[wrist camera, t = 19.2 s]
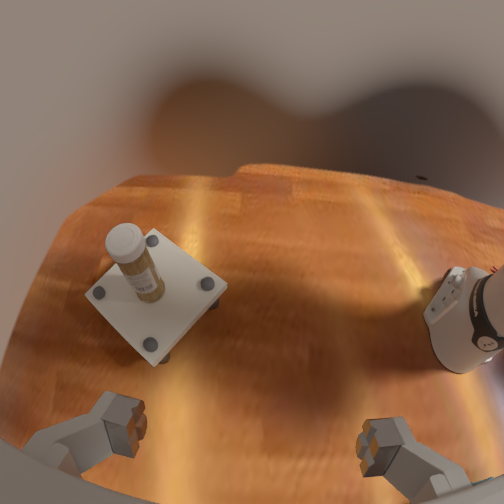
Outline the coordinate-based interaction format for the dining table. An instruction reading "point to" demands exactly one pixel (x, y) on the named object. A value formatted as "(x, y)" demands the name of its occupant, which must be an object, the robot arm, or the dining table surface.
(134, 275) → the sprinkles bottle
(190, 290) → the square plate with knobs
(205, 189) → the dining table surface
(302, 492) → the dining table surface
